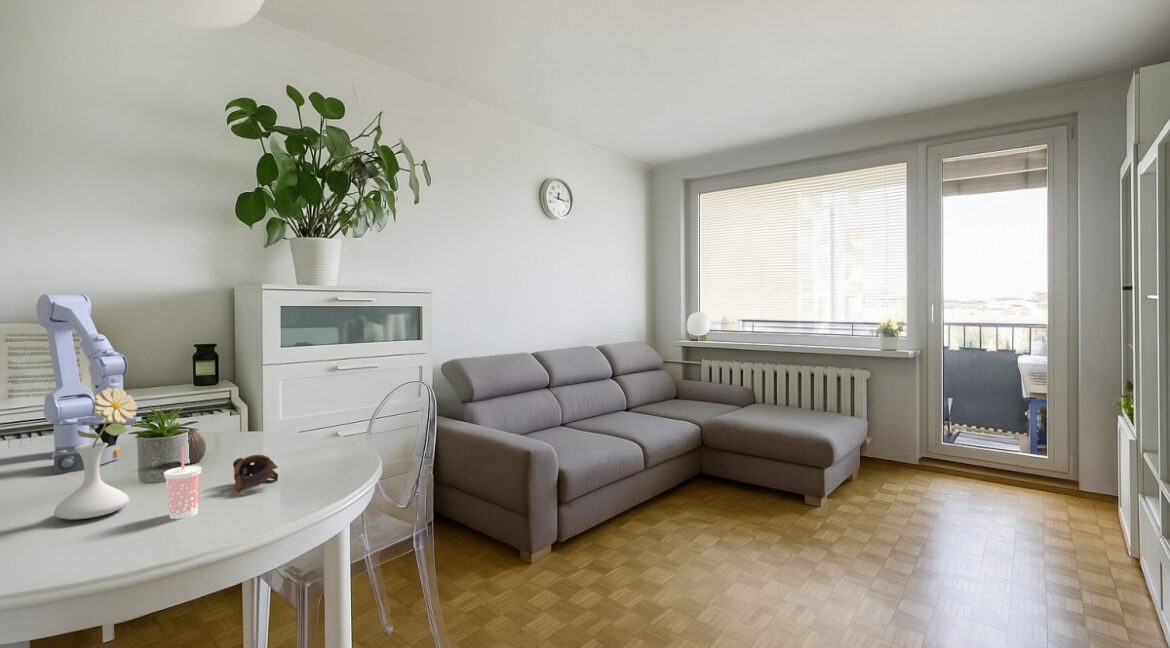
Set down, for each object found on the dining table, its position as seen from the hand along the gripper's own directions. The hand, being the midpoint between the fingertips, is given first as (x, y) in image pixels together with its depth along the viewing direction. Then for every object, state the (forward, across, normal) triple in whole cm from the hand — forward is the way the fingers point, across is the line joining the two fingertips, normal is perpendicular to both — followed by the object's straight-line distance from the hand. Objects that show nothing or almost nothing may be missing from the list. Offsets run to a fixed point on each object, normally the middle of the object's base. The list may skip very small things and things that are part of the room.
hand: (110, 452), depth 148 cm
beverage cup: (+2, +42, -40) cm, 58 cm away
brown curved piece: (+3, +47, -23) cm, 52 cm away
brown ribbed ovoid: (+3, +21, -2) cm, 22 cm away
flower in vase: (+2, +24, -38) cm, 45 cm away
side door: (+2, +1, -3) cm, 3 cm away
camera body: (+2, -6, -5) cm, 8 cm away
